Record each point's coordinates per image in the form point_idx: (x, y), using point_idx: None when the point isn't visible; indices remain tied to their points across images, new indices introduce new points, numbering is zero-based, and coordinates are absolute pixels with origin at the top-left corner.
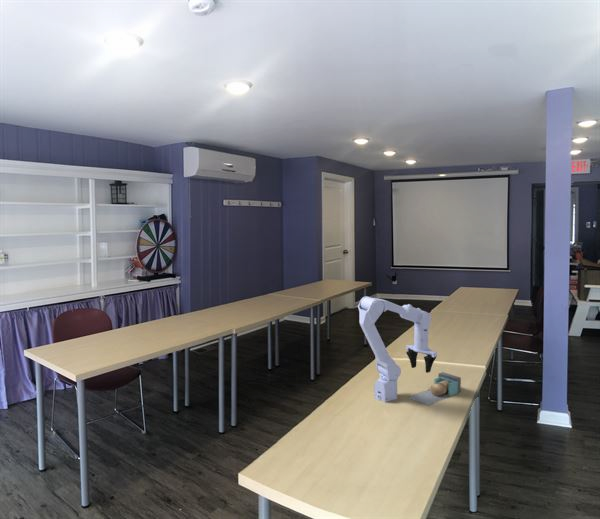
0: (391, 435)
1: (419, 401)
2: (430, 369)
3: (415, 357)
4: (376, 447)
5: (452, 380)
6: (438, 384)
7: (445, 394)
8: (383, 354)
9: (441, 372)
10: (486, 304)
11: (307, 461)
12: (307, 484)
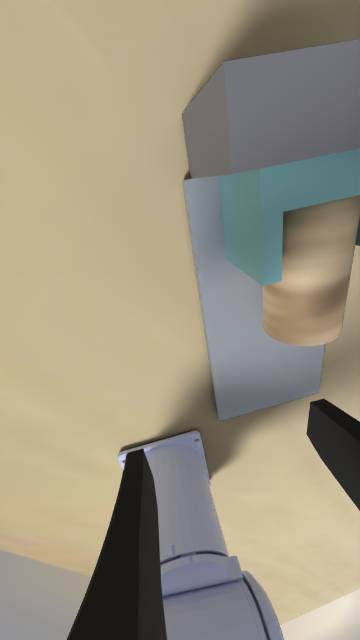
0: (335, 511)
1: (273, 400)
2: (346, 418)
3: (148, 607)
4: (341, 536)
5: None
6: (334, 319)
7: None
8: None
9: (227, 99)
10: None
11: (294, 595)
12: (331, 593)
